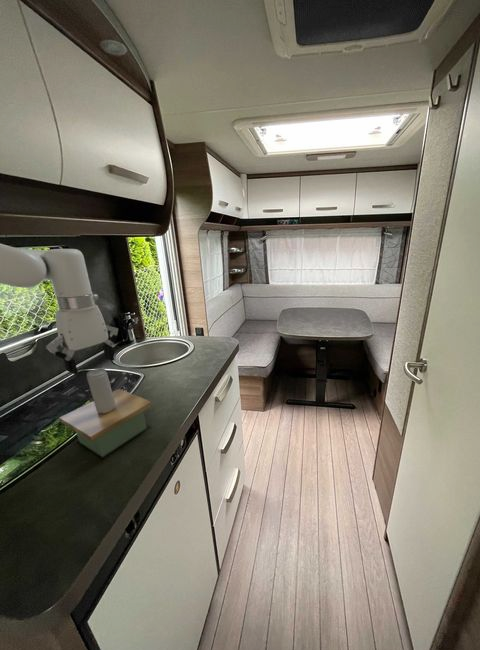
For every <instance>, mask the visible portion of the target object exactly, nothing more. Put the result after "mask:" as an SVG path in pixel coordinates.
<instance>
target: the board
mask: <svg viewBox="0 0 480 650" xmlns="http://www.w3.org/2000/svg"><path fill="white" fill-rule="evenodd" d="M112 394H113V397H114V401H115V408H114V410H112V411H111V412H109V413H104V414H101V413H99V412H97V410H96V407H95V403H94V400H93V401H91V402H89V403H87V404H84V405H82V406H80V407H78V408H76V409H74V410H72V411H70V412H68V413H66V414H64V415H61V416H59V417H58V419H59V421H60V423H62V425H65V426H66V427H68V428H70V429H71V430H73V431H74V432H75V433H76V432H78V433H79V434H81V435H82V436H84V437H86V438H87V439H89V440H91V441H94V440H96V439H97V438H99V437H101V436H102V435H104V434H106V433H108V432H109V431H111V430H113V429H114V428H116V427H118V426H119V425H121V424H123V423H124V422H126V421H128V420H129V419H131V418H133V417H135V416H136V415H138V414H140V413H141V412H143V413H144V412H145V411H146V410H148V409H150V408H151V407H153V403H152V401H150V400H148V399H145V398H143V397H140V396H139V395H136V394H133V393H131V392H128V391H125V390H123V389H121V388H118V389H116V390H113V391H112Z"/></svg>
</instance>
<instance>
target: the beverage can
mask: <svg viewBox="0 0 480 650" xmlns="http://www.w3.org/2000/svg"><path fill="white" fill-rule="evenodd" d="M86 379H87V383H88V385H89V386H88V387H89V389H90V394H91V397H92V399H93V401H94V403H95V407H96V410H97V412H99V413H101V414H104V413H109V412H111V411H112V410H114V408H115V401H114V397H113V394H112V392H113V390H112V387H111V383H110V380H109V379H110V378H109V375H108V372H107V370H106V369H105V368H95V369H92V370H89V371H88V372H86Z"/></svg>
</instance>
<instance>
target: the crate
mask: <svg viewBox="0 0 480 650" xmlns="http://www.w3.org/2000/svg"><path fill="white" fill-rule="evenodd" d="M147 429H148V426H147V423H146V419H145V415H144V411H143V412H141V413H140V414H138V415H136V416H135V417H133V418H131V419H129V420H128V421H126V422H124V423H123V424H121V425H119V426H118V427H116V428H114V429H113V430H111V431H109V432H108V433H106V434H104V435H102V436H101V437H99V438H97V439H96V440H94V441H91V440H89V439H87V438H86V437H84V436H82V435H81V434H79V433H78V432H76V431H75V433H76V434H75V435H76V436H77V439H78V443H80V444H81V445H83V446H84V447H86V448H87V449H89V451H92V452H94V453H95V454H96V455H98V456H100V457H101V458H104V457H106V456H107V455H109V454H110V453H112V452H114V450H116V449H118V448H120V447H121V446H122V445H125V444H126V443H127V442H128V441H130V440H132V439H133V438H134V437H136V436H138V435H139V434H141V433H142V432H144V431H146V430H147Z"/></svg>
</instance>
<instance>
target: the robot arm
mask: <svg viewBox="0 0 480 650" xmlns="http://www.w3.org/2000/svg"><path fill="white" fill-rule="evenodd" d="M44 281H51V286H52V289H53V292H54V296H55V300H56V302H57V306H58V309H56V310H55V327H56V330H57V337H56V338H54V339H53V340H52V341H51V342H49V343H48V344H46V346H45V349H46V350H48V351H49V353H51V354H52V355H54V356H55V357H57V358H60V359H62V360H63V363H64V366H65V369H66V371H67V372H69V373H71V374H73V375H78V373H79V371H78V367H77V364H76V360H75V359H74V358H73V356H74V354H75V352H77V351H80V350H83V349H86V348H87V349H88V348H90V347H92V346H96V345H99V344H103V345H102V349H103V354H104V358H105V359H106V360H107V361H108V360H109V361H111V362H113V361H115V351H114V348H113V347H114V346H115V342H116V340H117V338H118V337H117V336H118V333H119V328H118V327H114V326H110V325H106V322H105V319H104V317H103V314H102V312H101V310H100V308H99V306H98V305H97V304H96V301H97V300H99V295H98V294H97V293H95V294H94V293H93V291H92V286H91V281H90V278H89V273H88V269H87V265H86V260H85V256H84V254H83V253H82V251H81V250H79V249H77V248H53V249H52V248H51V249H48V250H43V249H31V248H18V247H15V246H11V245H6V244H3V243H0V284H2V285H7V286H10V287H17V288H22V289H23V288H33V287H36V286H38V285H40V284H41V283H42V282H44ZM109 331H110V332H109ZM108 332H109V333H110V334H109V333H108ZM59 346H60V347H62V348H63V350H61V351H62V352H61V351H60V350H59V349H58V347H59Z"/></svg>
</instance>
